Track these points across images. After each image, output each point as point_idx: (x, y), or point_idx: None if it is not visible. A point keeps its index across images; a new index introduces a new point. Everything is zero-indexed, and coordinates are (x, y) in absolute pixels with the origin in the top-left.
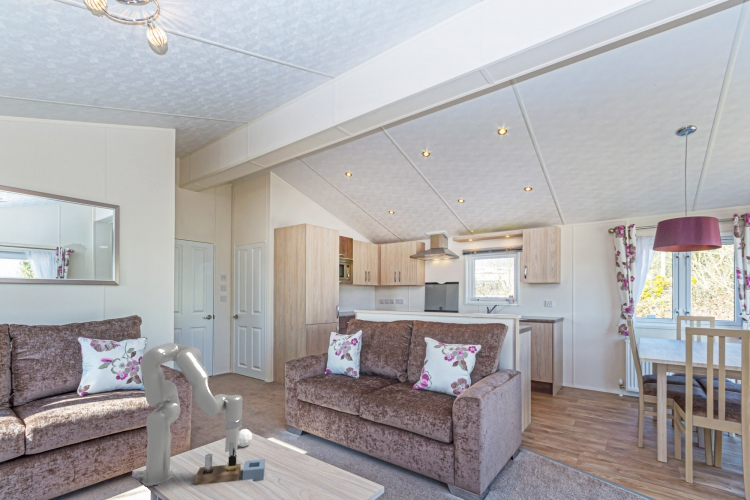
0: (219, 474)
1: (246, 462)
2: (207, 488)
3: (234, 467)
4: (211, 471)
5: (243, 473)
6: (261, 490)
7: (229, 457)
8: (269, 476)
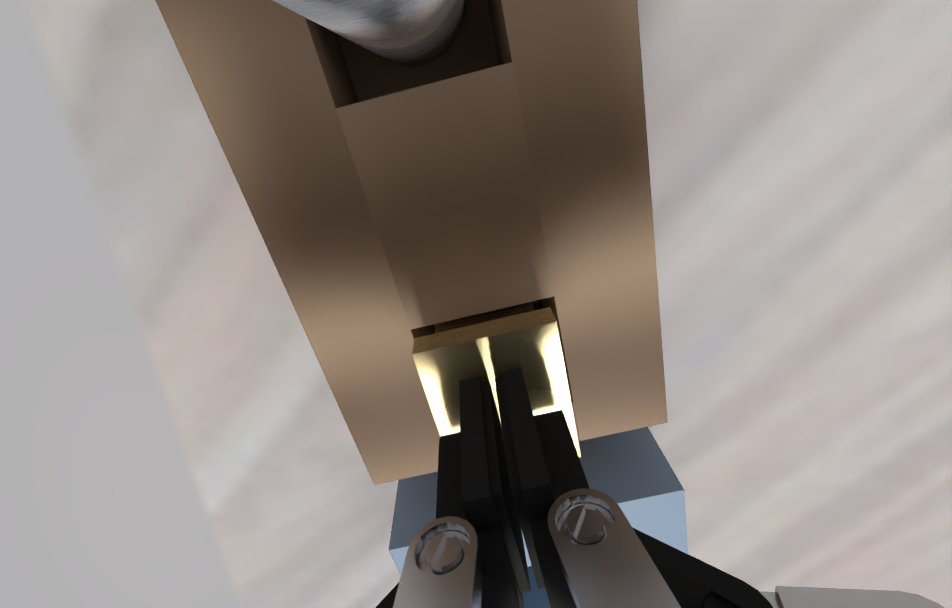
0: (305, 262)
1: (629, 517)
2: (200, 112)
3: None
4: (398, 58)
5: (395, 523)
6: (287, 605)
7: (467, 499)
8: None
